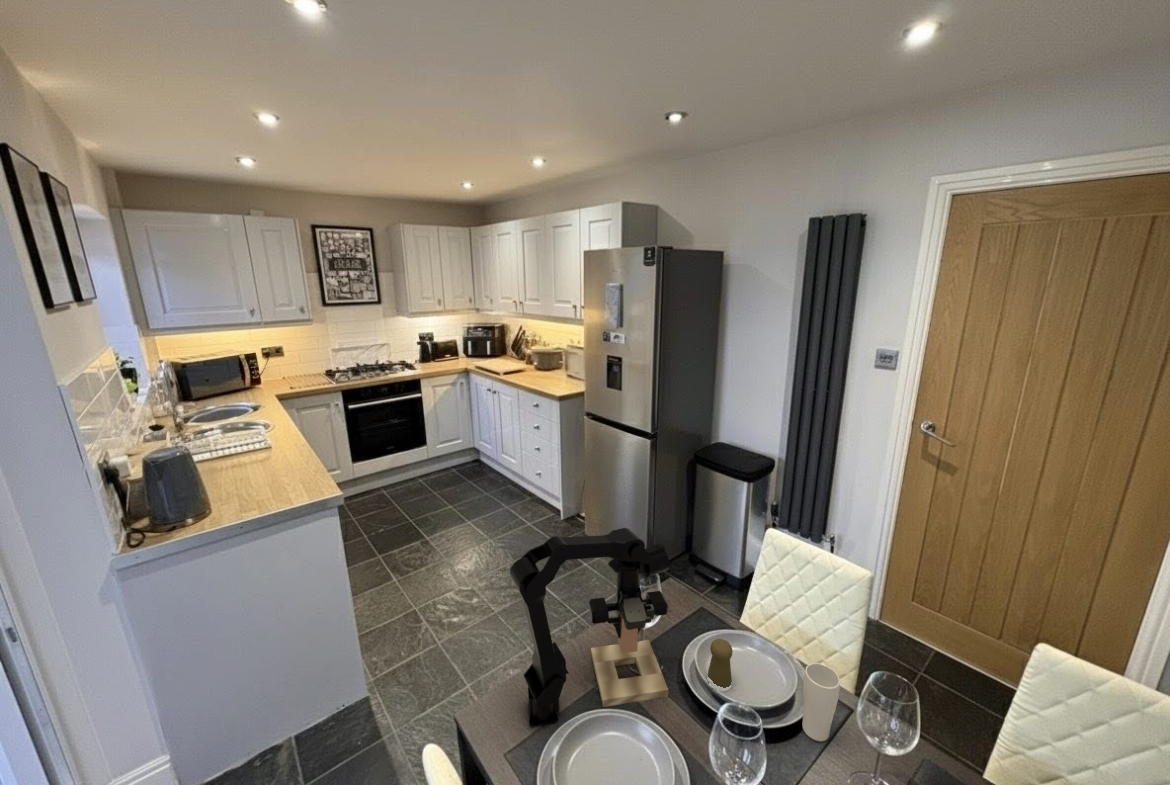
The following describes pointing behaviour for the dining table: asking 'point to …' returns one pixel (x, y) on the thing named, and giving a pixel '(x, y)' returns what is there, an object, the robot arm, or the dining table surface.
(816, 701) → the drinking glass
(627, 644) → the brown tall block
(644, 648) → the wooden square hole board
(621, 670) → the dining table surface
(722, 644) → the olive brown pawn
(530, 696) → the robot arm
